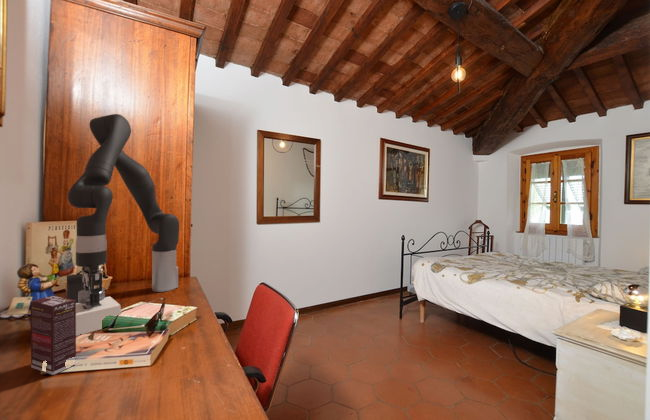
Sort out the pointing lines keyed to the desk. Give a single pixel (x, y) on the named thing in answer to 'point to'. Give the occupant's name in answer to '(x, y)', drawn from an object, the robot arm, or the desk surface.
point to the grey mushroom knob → (85, 297)
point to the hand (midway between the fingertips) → (92, 302)
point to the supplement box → (52, 332)
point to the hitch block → (95, 315)
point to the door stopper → (74, 286)
